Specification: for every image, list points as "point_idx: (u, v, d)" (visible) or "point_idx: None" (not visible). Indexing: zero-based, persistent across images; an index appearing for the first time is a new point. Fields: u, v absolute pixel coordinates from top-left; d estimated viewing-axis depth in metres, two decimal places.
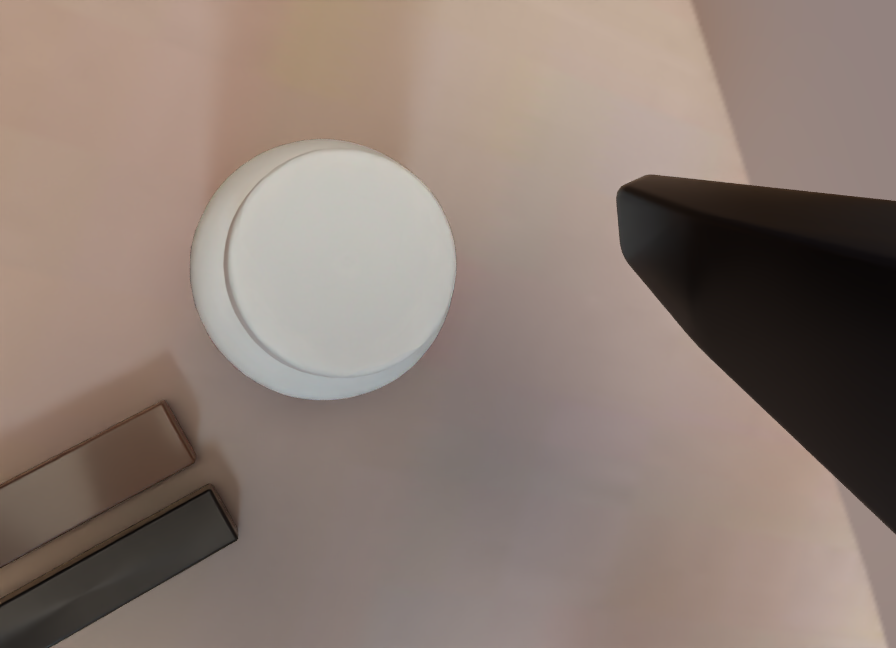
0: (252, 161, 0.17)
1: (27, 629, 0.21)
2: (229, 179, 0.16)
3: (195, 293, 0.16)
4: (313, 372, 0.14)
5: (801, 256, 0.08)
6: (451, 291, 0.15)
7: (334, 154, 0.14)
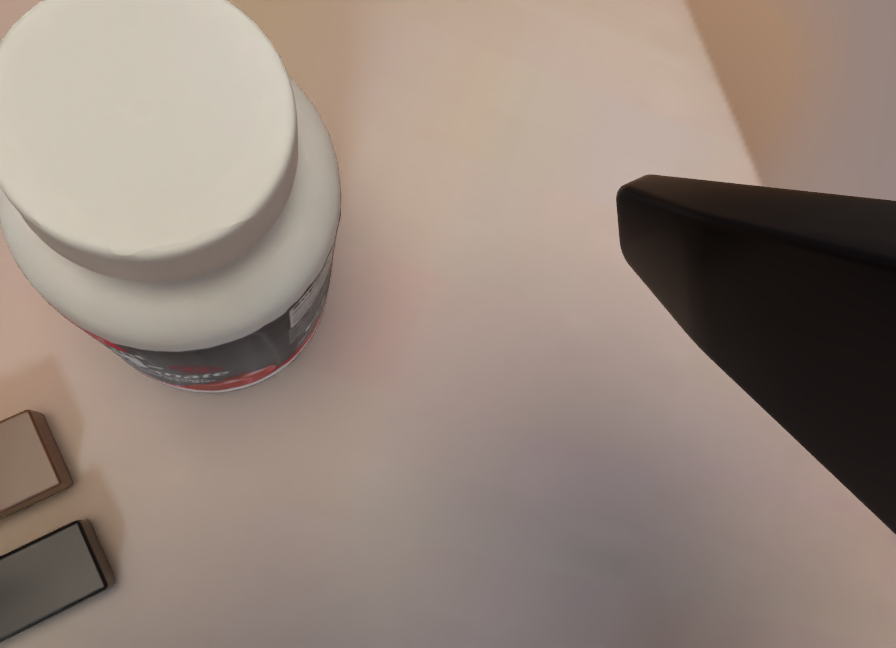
0: None
1: None
2: None
3: None
4: (82, 248, 0.10)
5: (801, 256, 0.08)
6: (285, 156, 0.11)
7: None
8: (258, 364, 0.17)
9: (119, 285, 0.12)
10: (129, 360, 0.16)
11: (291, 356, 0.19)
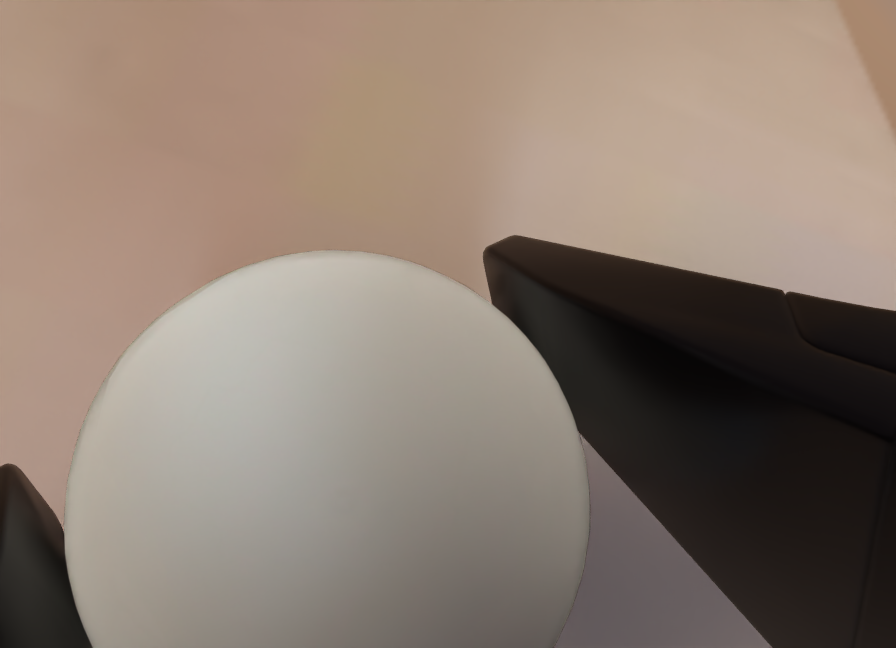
0: None
1: None
2: None
3: None
4: None
5: (635, 340, 0.07)
6: (579, 570, 0.07)
7: (323, 263, 0.07)
8: None
9: None
10: None
11: None
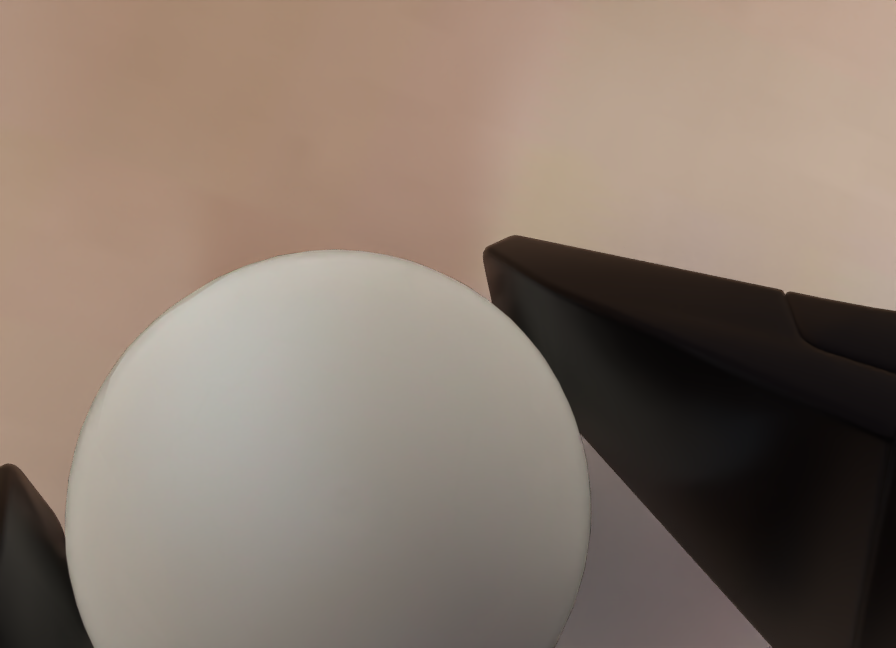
0: None
1: None
2: None
3: None
4: None
5: (635, 339, 0.07)
6: (580, 570, 0.07)
7: (324, 263, 0.07)
8: None
9: None
10: None
11: None
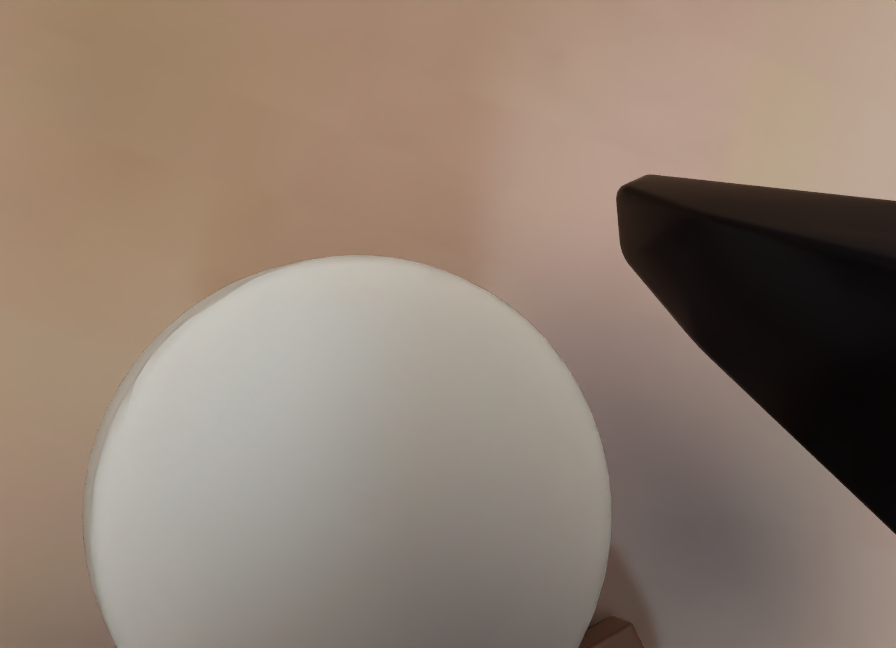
0: (215, 294, 0.09)
1: None
2: (170, 326, 0.09)
3: (84, 543, 0.08)
4: None
5: (801, 256, 0.08)
6: (602, 576, 0.07)
7: (348, 267, 0.07)
8: None
9: None
10: None
11: None
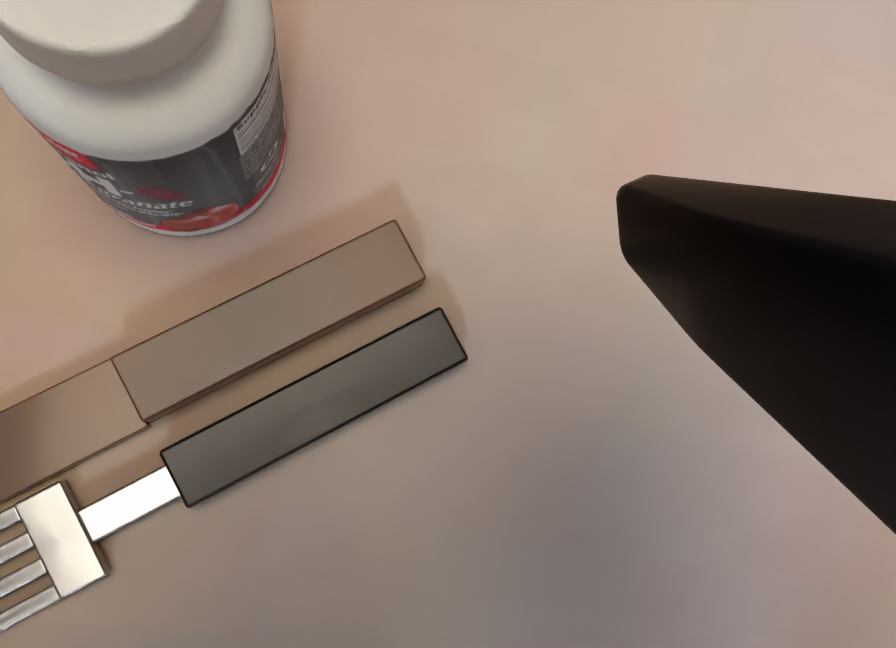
0: None
1: (267, 434, 0.21)
2: None
3: None
4: (43, 45, 0.13)
5: (801, 256, 0.08)
6: None
7: None
8: (219, 197, 0.20)
9: (83, 96, 0.15)
10: (105, 189, 0.19)
11: (253, 199, 0.22)
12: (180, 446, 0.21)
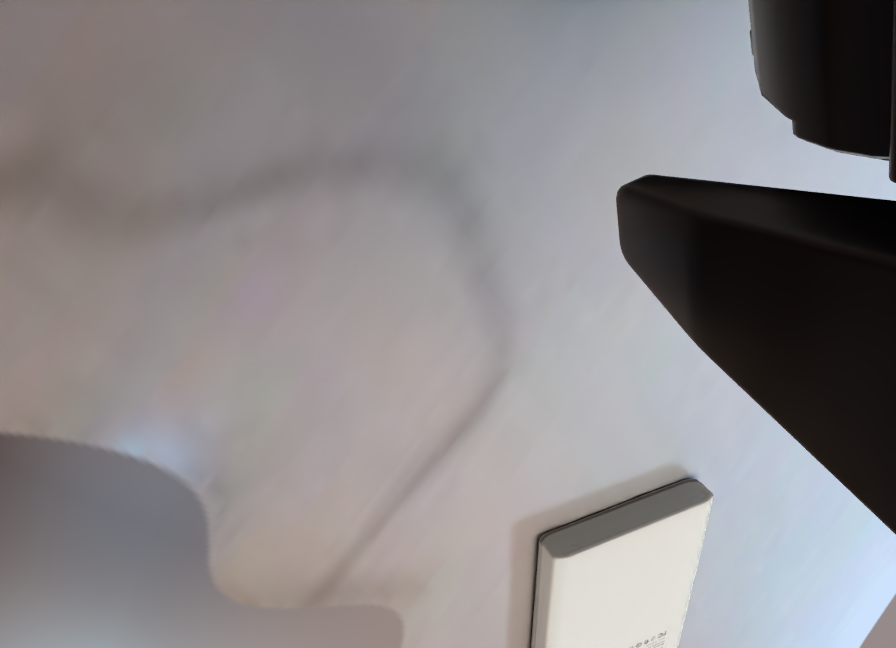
0: None
1: None
2: None
3: None
4: None
5: (801, 256, 0.08)
6: None
7: None
8: None
9: None
10: None
11: None
12: None
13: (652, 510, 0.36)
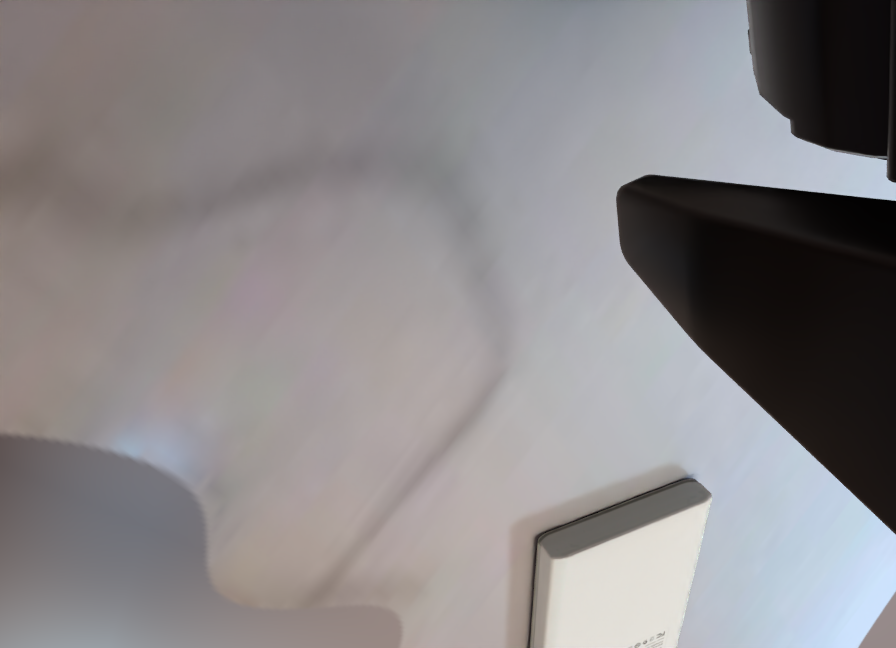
0: None
1: None
2: None
3: None
4: None
5: (801, 256, 0.08)
6: None
7: None
8: None
9: None
10: None
11: None
12: None
13: (651, 510, 0.36)
